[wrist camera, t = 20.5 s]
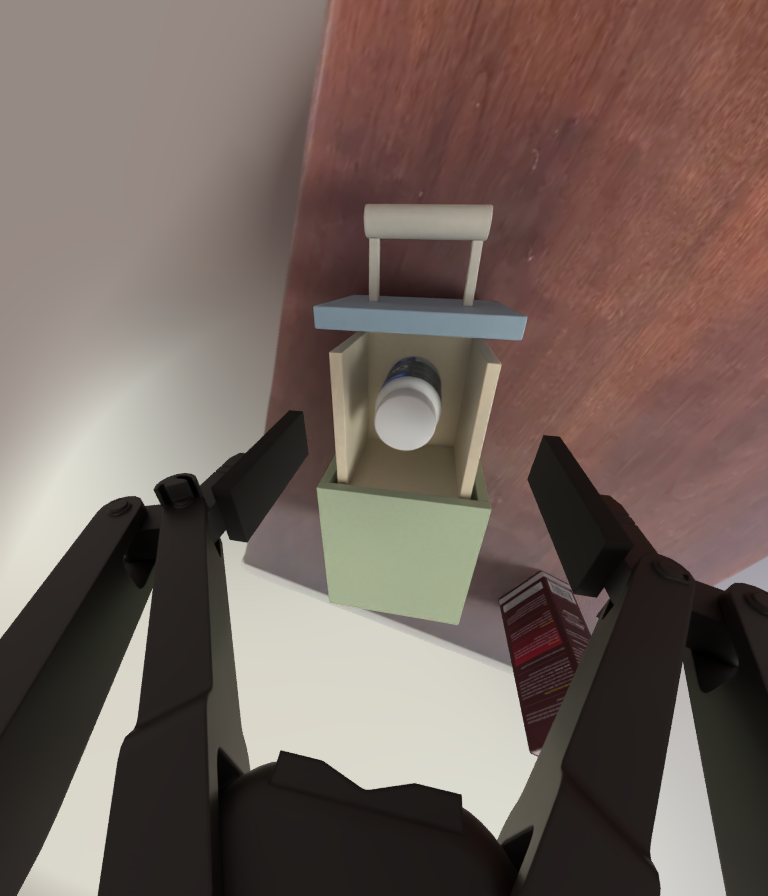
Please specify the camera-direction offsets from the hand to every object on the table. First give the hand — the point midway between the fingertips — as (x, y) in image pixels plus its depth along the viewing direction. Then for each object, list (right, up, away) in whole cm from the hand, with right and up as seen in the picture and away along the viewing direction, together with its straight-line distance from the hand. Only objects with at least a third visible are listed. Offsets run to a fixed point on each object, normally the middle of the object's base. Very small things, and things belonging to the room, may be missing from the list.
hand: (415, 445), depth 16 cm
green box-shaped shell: (+1, -4, +19) cm, 19 cm away
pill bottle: (+1, +6, +10) cm, 12 cm away
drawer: (+1, +8, +10) cm, 13 cm away
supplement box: (+19, -20, +25) cm, 37 cm away
